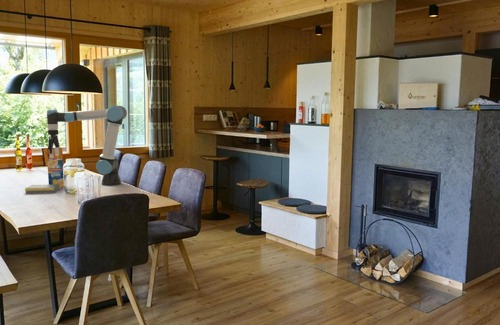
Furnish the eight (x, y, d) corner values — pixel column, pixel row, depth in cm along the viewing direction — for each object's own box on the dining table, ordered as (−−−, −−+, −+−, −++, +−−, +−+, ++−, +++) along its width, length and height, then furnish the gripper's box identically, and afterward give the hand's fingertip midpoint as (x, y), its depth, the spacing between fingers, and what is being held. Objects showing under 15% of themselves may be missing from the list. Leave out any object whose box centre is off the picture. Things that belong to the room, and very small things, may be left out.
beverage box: (64, 187, 349) (62, 159, 346) (48, 188, 345) (47, 160, 342) (64, 186, 355) (62, 158, 352) (49, 187, 351) (47, 159, 348)
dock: (59, 189, 341) (59, 184, 341) (53, 193, 328) (53, 187, 327) (32, 190, 339) (31, 184, 338) (25, 193, 326) (24, 188, 325)
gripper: (53, 128, 356) (54, 154, 359) (42, 130, 331) (43, 158, 334) (62, 128, 357) (64, 154, 359) (52, 130, 332) (54, 158, 335)
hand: (54, 156), depth 347 cm, fingers open, 13 cm apart
